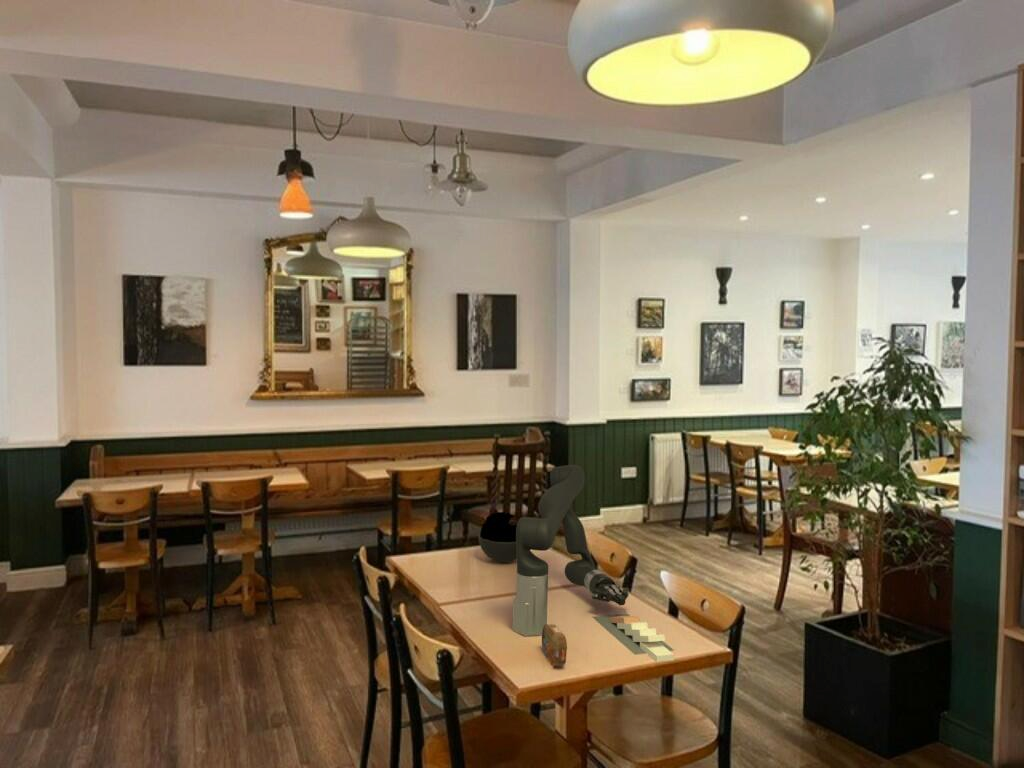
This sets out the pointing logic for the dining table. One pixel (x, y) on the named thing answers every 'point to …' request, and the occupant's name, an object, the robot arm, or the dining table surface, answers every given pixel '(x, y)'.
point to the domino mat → (623, 634)
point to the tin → (554, 645)
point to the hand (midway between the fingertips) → (622, 602)
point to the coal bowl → (499, 538)
